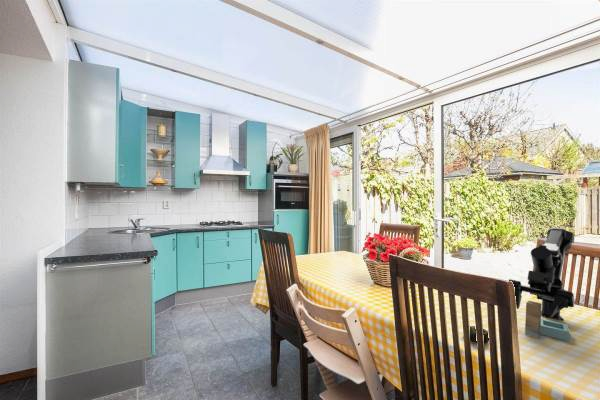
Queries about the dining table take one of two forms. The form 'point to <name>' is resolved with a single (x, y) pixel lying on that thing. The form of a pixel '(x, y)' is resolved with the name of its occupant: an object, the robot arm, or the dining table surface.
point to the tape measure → (473, 335)
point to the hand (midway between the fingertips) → (533, 312)
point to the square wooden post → (533, 319)
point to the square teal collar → (554, 329)
